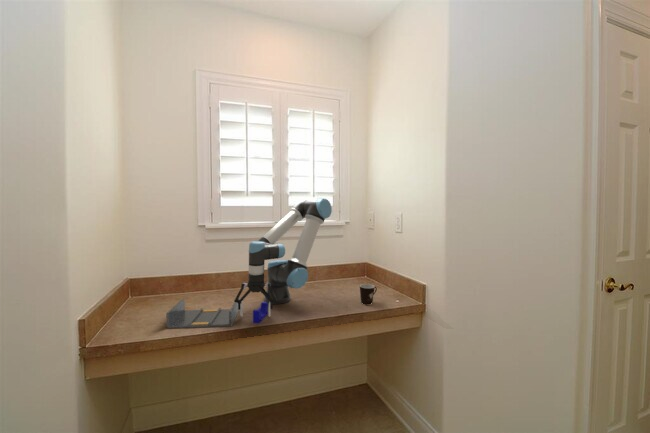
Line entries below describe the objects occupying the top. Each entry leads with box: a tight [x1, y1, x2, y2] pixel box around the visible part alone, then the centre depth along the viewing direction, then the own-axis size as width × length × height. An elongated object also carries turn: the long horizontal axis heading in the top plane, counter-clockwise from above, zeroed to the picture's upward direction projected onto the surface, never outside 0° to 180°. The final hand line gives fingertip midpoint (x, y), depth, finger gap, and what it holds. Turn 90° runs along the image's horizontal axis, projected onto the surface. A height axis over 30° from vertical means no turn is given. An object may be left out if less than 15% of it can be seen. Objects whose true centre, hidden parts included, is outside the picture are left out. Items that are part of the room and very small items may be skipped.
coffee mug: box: [359, 283, 378, 305], centre depth 158 cm, size 12×9×10 cm
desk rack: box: [165, 297, 240, 329], centre depth 133 cm, size 28×18×7 cm, turn 97°
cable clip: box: [252, 301, 269, 324], centre depth 135 cm, size 12×4×6 cm, turn 172°
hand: (255, 315), depth 135 cm, fingers open, 13 cm apart
